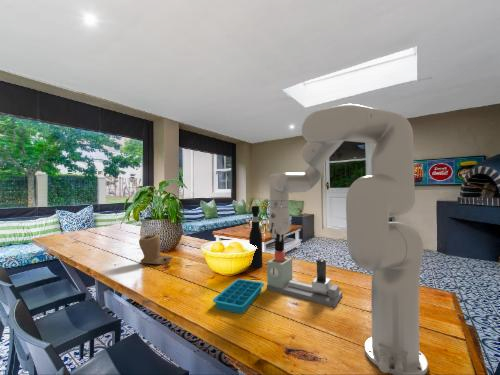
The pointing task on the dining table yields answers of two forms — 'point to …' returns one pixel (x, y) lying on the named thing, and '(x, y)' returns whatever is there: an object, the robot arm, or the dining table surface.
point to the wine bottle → (256, 239)
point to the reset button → (280, 256)
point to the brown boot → (152, 250)
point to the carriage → (321, 279)
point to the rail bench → (307, 294)
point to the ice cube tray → (238, 295)
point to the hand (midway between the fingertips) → (279, 250)
